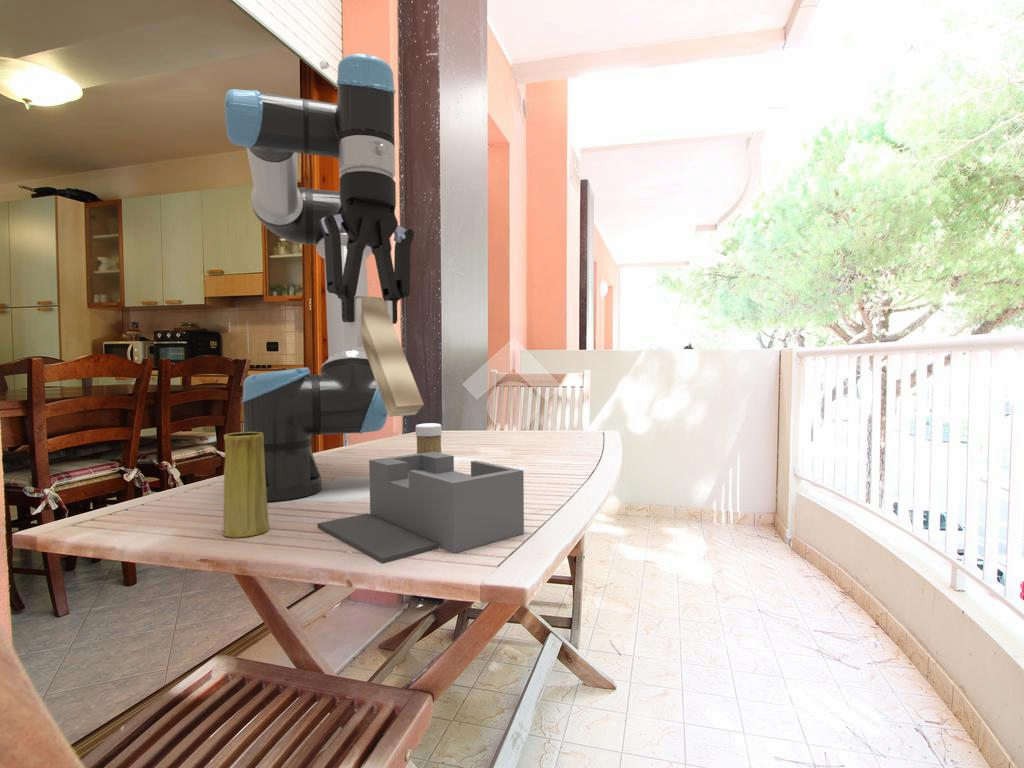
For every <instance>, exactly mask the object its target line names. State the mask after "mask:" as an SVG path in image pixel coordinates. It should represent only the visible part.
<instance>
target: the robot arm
mask: <svg viewBox="0 0 1024 768" xmlns="http://www.w3.org/2000/svg"><path fill="white" fill-rule="evenodd" d="M394 82H395V81H394V71H393V70H392V67H391V66H390V64H388V62H386V61H385V60H383V59H382V58H380V57H378V56H374V55H370V54H366V53H353V54H349V55H346V56H344V57H343V58H342V59H341V60H340V61H339V63H338V65H337V80H336V85H337V103H335V102H334V103H333V102H328V101H327V102H326V101H321V100H314V99H306V98H300V97H293V96H286V95H280V94H274V93H267V92H261V91H259V90H256V89H253V90H247V89H246V90H245V89H238V88H237V89H235V88H234V89H233V88H232V89H229V90H228V91H226V94H225V98H224V117H225V118H224V119H225V130H226V135H227V139H228V141H229V142H230V143H231V144H232V145H235V146H238V147H244V148H245V149H246V152H247V157H248V163H249V168H250V174H251V179H252V184H253V188H252V189H251V193H250V204H251V208H252V210H253V213H254V215H255V217H256V218H257V220H258V221H259V222H260V223H261V224H262V225H263V226H264V227H265V228H266V229H267V230H269V231H270V232H271V233H273V234H275V235H276V236H278V237H279V238H282V239H283V240H286V241H289V242H292V243H296V244H301V245H302V244H303V245H314V246H315V248H316V253H318V255H319V256H320V257H321V258H322V259H324V279H325V281H324V282H325V284H324V285H325V303H326V307H325V308H326V326H327V327H326V328H327V329H326V330H327V351H328V352H327V353H328V359H326V360H325V362H324V363H322V364H321V367H320V374H311V370H310V368H309V367H307V366H306V367H297V368H293V369H292V368H290V369H285V370H284V369H283V370H276V371H269V372H261V373H256V374H255V373H254V374H251V375H248V376H247V377H246V378H245V379H244V380H243V384H242V399H241V403H242V405H243V410H242V411H243V432H262V433H263V435H264V458H265V477H266V494H267V502H275V501H276V502H278V501H286V500H287V501H288V500H293V499H298V498H304V497H308V496H311V495H314V494H317V493H318V492H320V491H321V490H322V489H323V487H322V486H323V484H322V476H321V473H320V470H319V468H318V465H317V462H316V460H315V459H316V458H315V457H314V453H313V452H312V436H321V435H323V436H324V435H338V434H341V435H343V434H344V435H345V434H346V435H347V434H360V435H361V434H362V435H363V433H372V432H373V433H375V432H378V431H381V430H382V429H383V428H384V427H385V425H386V422H387V420H388V419H387V418H388V414H387V411H386V408H385V405H384V402H383V400H382V397H381V394H380V391H379V389H378V386H377V383H376V380H375V377H374V375H373V372H372V369H371V366H370V363H369V361H368V358H367V355H366V352H365V349H364V347H363V344H362V306H361V298H355V296H368V297H369V289H368V288H369V287H368V272H367V271H368V270H367V259H368V258H369V257H370V256H371V255H374V260H375V264H376V270H377V271H376V272H377V273H378V280H379V285H380V290H381V294H382V295H381V297H382V299H383V302H384V304H385V307H386V309H387V312H388V314H389V316H390V319H391V322H392V324H393V325H397V322H398V302H399V301H401V299H403V298H407V297H409V296H410V294H411V293H410V292H411V290H410V289H411V284H410V283H411V245H412V243H413V240H414V238H415V237H414V236H415V232H414V230H413V229H412V228H409V229H406V228H404V227H402V226H401V225H400V224H399V222H398V219H397V217H396V214H395V213H396V205H397V197H396V196H397V195H396V194H397V192H396V189H397V188H396V181H395V180H394V178H395V176H396V149H395V148H396V147H395V146H396V145H395V144H396V143H395V94H396V89H395V83H394ZM298 154H306V155H314V156H319V157H329V158H337V159H338V164H339V165H338V166H339V167H338V169H339V170H338V172H339V174H340V175H341V176H340V177H339V191H337V190H335V191H334V190H325V189H317V188H308V187H307V188H306V187H298ZM393 234H394V237H393V241H394V242H395V243H394V252H393V253H394V258H393V259H394V261H393V259H392V253H391V252H392V243H391V237H392V236H393ZM393 264H394V265H393Z"/></svg>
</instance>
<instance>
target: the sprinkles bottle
mask: <svg viewBox="0 0 1024 768" xmlns="http://www.w3.org/2000/svg"><path fill="white" fill-rule="evenodd" d="M442 428H443V427H442V424H441V423H434V422H433V423H432V422H431V423H427V422H426V423H420V424H416V425H415V436H416V454H420V453H427V452H438V453H442V435H443V429H442ZM442 454H443V453H442Z"/></svg>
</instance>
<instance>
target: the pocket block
mask: <svg viewBox="0 0 1024 768" xmlns="http://www.w3.org/2000/svg"><path fill="white" fill-rule="evenodd" d="M454 457H455V455H452V454H448V453H447V454H446V453H438V452H427V453H420V454H417V453H413V454H404V455H399V456H398V455H397V456H390V457H383V458H376V459H369V460H368V461H369V463H368V466H369V469H368V471H369V473H368V475H369V511H370V512H369V514H370V515H372V516H374V517H377V518H379V519H381V520H384V521H386V522H388V523H391V524H393V525H395V526H398V527H400V528H402V529H405V530H407V531H409V532H412V533H414V534H416V535H419V536H421V537H423V538H426V539H428V540H430V541H433V542H435V543H437V544H438V548H439V547H440V548H441V549H444V550H446V551H448V552H450V553H453V554H457V553H460V552H463V551H466V550H470V549H474V548H477V547H481V546H484V545H489V544H492V543H495V542H500V541H502V540H506V539H510V538H513V537H517V536H521V535H524V534H525V514H524V513H525V509H524V507H525V503H524V502H525V501H524V496H525V493H524V490H525V489H524V487H525V486H524V483H525V481H524V470H523V469H519V468H513V467H508V466H504V465H500V464H499V465H498V464H494V463H489V462H484V461H480V460H471V461H470V474H467V473H464V472H459V471H457V470H456V471H455V458H454Z"/></svg>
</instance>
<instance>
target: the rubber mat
mask: <svg viewBox="0 0 1024 768" xmlns="http://www.w3.org/2000/svg"><path fill="white" fill-rule="evenodd" d="M317 528H318V529H320V530H322V531H324V532H325V533H327V534H329V535H331V536H332V537H334V538H337V539H338V540H340V541H342V542H343V543H345V544H347V545H348V546H351V547H352V548H355V549H356V550H358V551H359V552H361V553H363V554H365V555H367V556H369V557H371V558H372V559H374V560H375V561H377V562H380V563H381V564H385V563H388V562H392V561H396V560H400V559H403V558H406V557H407V558H408V557H410V556H411V557H412V556H415V555H418V554H421V553H422V554H423V553H425V552H429V551H432V550H436V549H438V548H439V546H438V544H437V543H435V542H433V541H430V540H428V539H426V538H423V537H421V536H419V535H416V534H414V533H412V532H409V531H407V530H405V529H402V528H400V527H398V526H395V525H393V524H391V523H388V522H386V521H384V520H381V519H379V518H377V517H374V516H372V515H370V513H368V512H367V513H361V514H356V515H352V516H346V517H342V518H337V519H334V520H333V519H332V520H327V521H323V522H318V523H317Z"/></svg>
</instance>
